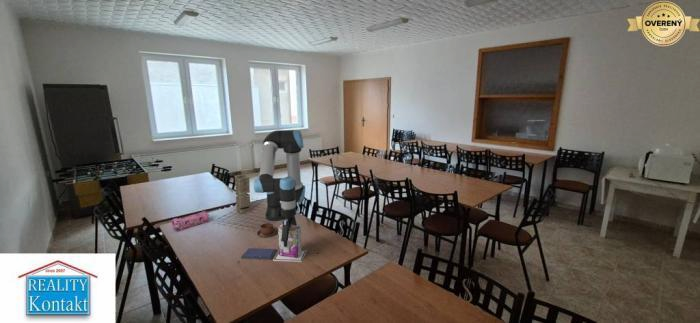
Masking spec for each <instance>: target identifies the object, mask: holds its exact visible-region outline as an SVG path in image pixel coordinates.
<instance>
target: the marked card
mask: <svg viewBox="0 0 700 323" xmlns="http://www.w3.org/2000/svg"><path fill="white" fill-rule="evenodd" d="M301 251H302V254H301V255H300V256H299V257H298V258H295V257H287V256H279V251H278V252H276V255H275V256H274V258H272V259H273V260H272V261H273V262H293V263H294V262H297V263H302V262H303V260H304V258H305V255H306V253H307V249H301Z"/></svg>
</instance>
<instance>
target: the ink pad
mask: <svg viewBox="0 0 700 323" xmlns="http://www.w3.org/2000/svg"><path fill="white" fill-rule="evenodd" d="M277 251H278V249H277V248H253V247H249V248H248V249H247V250H246V251H245V252H244V253H242V256H241V257H240V259H243V260H272V259H273V257H275V256H274V255H275V254H277Z"/></svg>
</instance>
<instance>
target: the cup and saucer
mask: <svg viewBox="0 0 700 323" xmlns="http://www.w3.org/2000/svg"><path fill="white" fill-rule="evenodd" d="M256 233H257V234H256V235H257V236H259V237H261V238H270V237H273V236H275V235H276V234H278V226H274V224H273V223H270V222H269V223H268V222H267V223H263V224H261V225H260V229H259V230H258V231H257V232H256ZM261 234H262V235H261Z"/></svg>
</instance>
